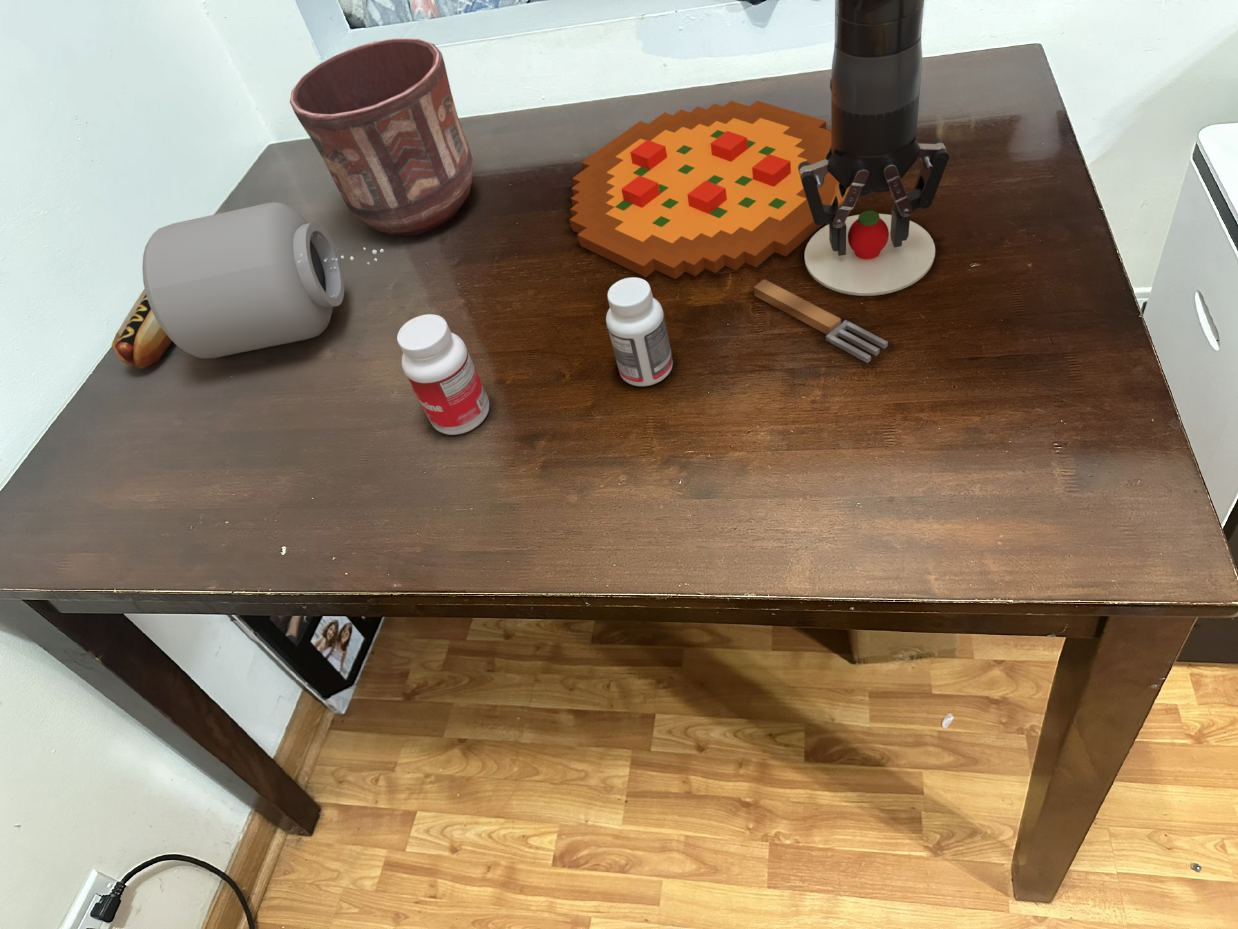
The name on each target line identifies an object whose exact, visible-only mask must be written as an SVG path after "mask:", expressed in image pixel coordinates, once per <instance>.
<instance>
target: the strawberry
mask: <svg viewBox="0 0 1238 929" xmlns="http://www.w3.org/2000/svg"><path fill="white" fill-rule="evenodd" d="M879 214H880V213H878V212H877V211H874V210H865V211H863V212H861V213H860V214H858V215H859V218H858V219H857V220H856V221H855V222H854V223H853V224H852V225H851V227H850V229H849V232H848V242H849V245H850V247H851V248H852V250H853V251H854V252H855V255H856V256H857V257H858V258H861V259H873V258H875V257H877V256H878V255H879V254H880V252H881V250H882V249H883V248H884V247H885V245H886V244H887V241H888V237H889V231H888V227H887V225H886V223H885V222H884V221H883V220H882V219H881V218H879Z"/></svg>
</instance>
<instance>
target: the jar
mask: <svg viewBox="0 0 1238 929" xmlns="http://www.w3.org/2000/svg"><path fill="white" fill-rule="evenodd" d="M366 249H367V247H365V246H364V247H363V250H364V251H366ZM379 252H380V253H381V254H384V253H385V250H384V248H380V249H379ZM371 253H372V255H374V256H375V255H377V254H378V250H376V249H372V252H371ZM340 259H341V260H344V259H345V256H344V255H340V257H339V254H338V251H337V248H336V247H335V244H334V242H333V239H331V236H330V235H329V233H328V231H327V230H325V228H324V227H323V226H322V225H321V224H319V223H318V222H308V220H307V219H306V218H305V217H304V216H303V215H302V214H301V213H299V211H297V210H296V209H295V208H294V207H292V206H290V205H288V204H285V203H283V202H277V201H273V202H266V203H265V202H264V203H261V204H257V205H252V206H247V207H243V208H238V209H233V210H229V211H225V212H219V213H215V214H211V215H207V216H206V215H205V216H202V217H201V216H200V217H196V218H192V219H187V220H183V221H178V222H174V223H171V224H168V225H165V226H162V227H160V228H158V229H157V230H155V231H154V232H153V233H152V235H151V236H150V238H149V239H148V241H147V243H146V244H145V247H144V251H143V255H142V266H141V267H142V280H143V287H144V289H145V292H146V296H147V299H148V302H149V305H150V307H151V309H152V312H153V314H154V316H155V318H156V319H157V321H158V323H159V325H160V326H161V327H162V329H163V330H164V331H165V333H166V334H167V335H168V337H169V338H170V339H171V340H172V343H173V344H175V345H176V347H178V348H179V349H181V350H182V351H183V352H185V353H187V354H189V355H191V356H194V357H196V358H199V359H204V360H205V359H207V360H208V359H217V358H221V357H225V356H230V355H236V354H240V353H246V352H250V351H255V350H261V349H264V348H265V349H266V348H270V347H276V346H281V345H285V344H290V343H297V342H299V341H300V342H301V341H306V340H310V339H312V338H315V337H318V336H320V335H321V334H323V332H324V331H325V330H326V329H327V328H328V326H329V324H330V321H331V319H332V315H333V311H334V307H339V306H340V305H341V304H342V303H343V301H344V296H345V278H344V273H343V267H342V264H341V260H340ZM349 260H350V261H351V262H352V261H354V260H355V257H354V256H350V257H349ZM373 261H374V262H377V261H378V258H377V257H375V258H373ZM366 263H367V266H369V265H371V263H370V262H366Z"/></svg>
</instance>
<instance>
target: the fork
mask: <svg viewBox="0 0 1238 929" xmlns="http://www.w3.org/2000/svg"><path fill="white" fill-rule="evenodd" d="M753 295H754V297H756V298H757V299H759V300H761V301H763V302H765V303H767V304H768V305H771V306H772V307H774V308H776V309H777V310H780V311H782V312H784V313H785V314H787V315H789V316H791V317H793V318H794V319H797V320H798V321H800V322H802V323H804V324H805V325H807V326H809V327H812V329H815V330H817V331H819V332H821V333H822V334H824V335H825V341H826V342H828V343H830V344H831V345H833V346H835V347H837V348H839V349H840V350H842V351H844V352H846V353H848V354H850V355H852V356H853V357H855V358H857V359H858V360H860V361H863V362H865V363H866V364H869V362H871V361H872V356H871V355H873V356H875V357H877V356H878V355H879V354H880V351H881V350H880V348H881V349H884V350H885V349H886V348H888V347H889V342H888V341H887V340H885V339H883V338H882V337H880V336H878V335H876V334H874V333H872V332H870V331H868V330H866V329H864V328H862V327H860V326H858V325H856V324H855V323H852V322H851V321H849V320H847V319H845V320H844V321H842V318H840V317H838V316H836V315H835V314H832V313H831V312H829V311H827V310H825V309H823V308H821V307H819V306H817V305H816V304H813V303H811V302H809V301H808V300H806V299H804V298H802V297H800V296H797V295H796V294H795V293H792V292H790V291H788V290H786V289H784V288H782V287H781V286H778V285H777V284H775V283H773V282H771V281H769V280H768V279H765V278H764V279H762V280H761V281H760V282H758V283H757V284H755V285H754V286H753ZM847 330H848V331H849V332H848V331H847ZM850 332H851V333H850ZM852 333H853V334H852ZM854 334H855V335H854ZM858 336H859V337H858ZM839 337H840V338H842V339H840V338H839ZM861 338H863V339H865V340H866V341H865V340H863V339H861ZM843 339H844V340H843ZM846 341H847V342H849V343H847V342H846ZM869 342H870V343H869ZM850 343H851V344H850ZM871 343H872V344H871ZM852 344H853V345H855V346H856V347H855V346H853V345H852ZM873 344H874V345H873ZM875 345H876V346H875ZM877 346H878V347H877ZM857 347H859V348H860V349H862V350H860V349H859V348H857ZM879 347H880V348H879ZM864 351H866V352H864ZM867 352H868V353H870V354H871V355H870V354H868V353H867Z"/></svg>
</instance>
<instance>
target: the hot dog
mask: <svg viewBox="0 0 1238 929" xmlns="http://www.w3.org/2000/svg"><path fill="white" fill-rule="evenodd" d="M172 343H173V341H172V340H171V339H170V338H169V337H168V335H167V334H166V333H165V331H164V330H163V329H162V327H161V326H160V325H159V323H158V321H157V319H156V318H155V316H154V314H153V312H152V309H151V307H150V305H149V302H148V299H147V296H146V292H145V288H144V289H143V290H142V292H141V293H140V294H139V296H138V298H137V299H136V301H135V302H134V304H133V306H132V307H131V309H130V310H129V312H128V313H127V315H126V317H125V318H124V320H123V322H122V323H121V326H120V327H119V328H118V330H117V332H116V333H115V336H114V338H113V340H112V342H111V348H112V350H113V352H114V353H115V355H116V356H117V357H118V359H119V360H120V362H122V363H124V364H125V365H128V366H131V367H133V368H139V369H146V368H147V367H149V366H151V365H153V364H154V363H156V362H158V361H160V360H161V359H162V357H163V356H164V354H165V353H166V351H167V350H168V348H169V347H170V346H171V345H172Z"/></svg>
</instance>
